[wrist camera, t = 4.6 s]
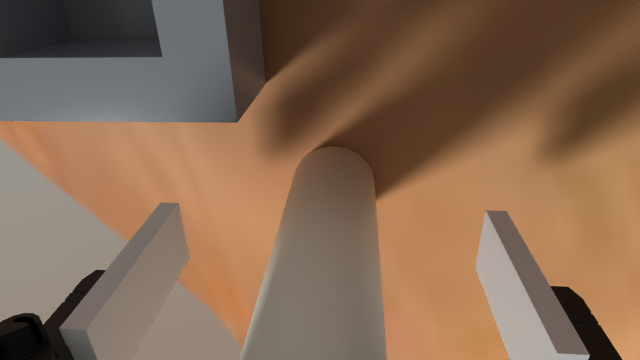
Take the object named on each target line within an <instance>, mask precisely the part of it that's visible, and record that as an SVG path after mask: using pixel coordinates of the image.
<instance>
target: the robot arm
mask: <svg viewBox="0 0 640 360" xmlns="http://www.w3.org/2000/svg"><path fill="white" fill-rule="evenodd" d="M189 258H190V255H189V251H188V246H187V241H186V236H185V231H184V227H183V222H182V217H181V212H180V207H179V203H160V204H159V205H158V207H157V208H156V209H155V210H154V212H153V213H152V214H151V215H150V217H149V218H148V219H147V220H146V221H145V223H144V224H143V225H142V226H141V228H140V229H139V230H138V231H137V233H136V234H135V235H134V236H133V238H132V239H131V240H130V241H129V243H128V244H127V245H126V246H125V248H124V249H123V250H122V251H121V252H120V254H119V255H118V256H117V258H116V259H115V260H114V261H113V262H112V264H111V265H110V266H109V267H108V269H107V270H96V271H94V272H93V273H91V274H90V275H88V276H87V277H85V278H84V279H82V281H81V282H80V283H79V284H78V285H77V286H76V287H75V289H74V290H73V292H72V293H70V294H69V296H68V297H67V298H66V299H65V302H63V303H62V304H61V305H60V306H59V307H58V308H57V310H56V311H55V312H54V313H53V314H52V315H51V317H50V318H49V319H48V320H47V321H46V323H45V324H44V325H43V324H42V322H41V320H40V318H39V316H37V315H35V314H33V313H23V314H19V315H15V316H12V317H10V318H8V319H6V320H3V321H2V322H0V360H132V359H133V357H134V355H135V353H136V352H137V350H138V348H139V346H140V344H141V343H142V341H143V339H144V338H145V336H146V334H147V332H148V330H149V329H150V327H151V325H152V323H153V321H154V320H155V318H156V316H157V314H158V313H159V311H160V309H161V307H162V306H163V304H164V302H165V300H166V299H167V297H168V295H169V293H170V291H171V290H172V288H173V286H174V284H175V283H176V281H177V279H178V277H179V276H180V274H181V272H182V270H183V268H184V267H185V265H186V263H187V261H188V260H189ZM475 268H476V270H477V273H478V276H479V278H480V281H481V284H482V286H483V289H484V292H485V294H486V297H487V300H488V303H489V305H490V308H491V311H492V313H493V316H494V319H495V321H496V324H497V327H498V329H499V332H500V335H501V337H502V340H503V343H504V345H505V348H506V351H507V353H508V356H509V359H510V360H622V359H621V357H620V355H619V354H618V352H617V351H616V349H615V348H614V346H613V345H612V343H611V342H610V340H609V339H608V337H607V336H606V334H605V332H604V331H603V329H602V328H601V326H600V325H598V322H597V320H596V319H595V317H594V316H593V314H591V311H590V309H589V308H588V306H587V305H586V303H585V302H584V300H583V299H582V298H581V297H580V296H579V295H577V294H576V293H575V292H574V291H573V290H571V289H570V288H569V287H558V286H550V285H549V284H548V282H547V280H546V278H545V277H544V275H543V273H542V271H541V270H540V268H539V266H538V265H537V263H536V261H535V259H534V258H533V256H532V254H531V252H530V251H529V249H528V247H527V246H526V244H525V242H524V240H523V239H522V237H521V235H520V233H519V232H518V230H517V228H516V227H515V225H514V223H513V221H512V220H511V218H510V216H509V215H508V213H507V211H486V213H485V218H484V223H483V229H482V234H481V239H480V244H479V250H478V255H477V260H476V266H475Z"/></svg>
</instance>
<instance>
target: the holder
mask: <svg viewBox="0 0 640 360" xmlns="http://www.w3.org/2000/svg"><path fill="white" fill-rule="evenodd" d="M265 84H266V79H265V67H264V55H263V43H262V31H261V19H260V7H259V0H0V121H99V122H238V121H239V120H240V118H241V117H242V115H243V114H244V113H245V111H246V110H247V109H248V107H249V106H250V105H251V103H252V102H253V101H254V99H255V98H256V96H257V95H258V94H259V92H260V91H261V90H262V88H263V87H264V86H265Z"/></svg>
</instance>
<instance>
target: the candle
mask: <svg viewBox="0 0 640 360" xmlns="http://www.w3.org/2000/svg"><path fill="white" fill-rule="evenodd" d="M239 360H387V357H386V342H385V328H384V313H383V298H382V284H381V269H380V254H379V240H378V225H377V210H376V196H375V181H374V175H373V172H372V169H371V167H370V166H369V164H368V163H367V161H366V160H365V159H364V158H363V157H362V156H360V155H359V154H357V153H356V152H354V151H352V150H350V149H347V148H343V147H336V146H330V147H323V148H319V149H317V150H314V151H312V152H311V153H309V154H308V155H306V156H305V157H304V158H303V159H302V160H301V162H300V163H299V165H298V166H297V168H296V171H295V174H294V178H293V181H292V185H291V188H290V191H289V195H288V198H287V201H286V205H285V208H284V211H283V215H282V218H281V221H280V225H279V228H278V232H277V235H276V238H275V242H274V245H273V248H272V252H271V255H270V258H269V262H268V265H267V269H266V272H265V275H264V279H263V282H262V285H261V289H260V292H259V295H258V299H257V302H256V305H255V309H254V312H253V316H252V319H251V322H250V326H249V329H248V332H247V336H246V339H245V342H244V346H243V349H242V353H241V356H240V359H239Z"/></svg>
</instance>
